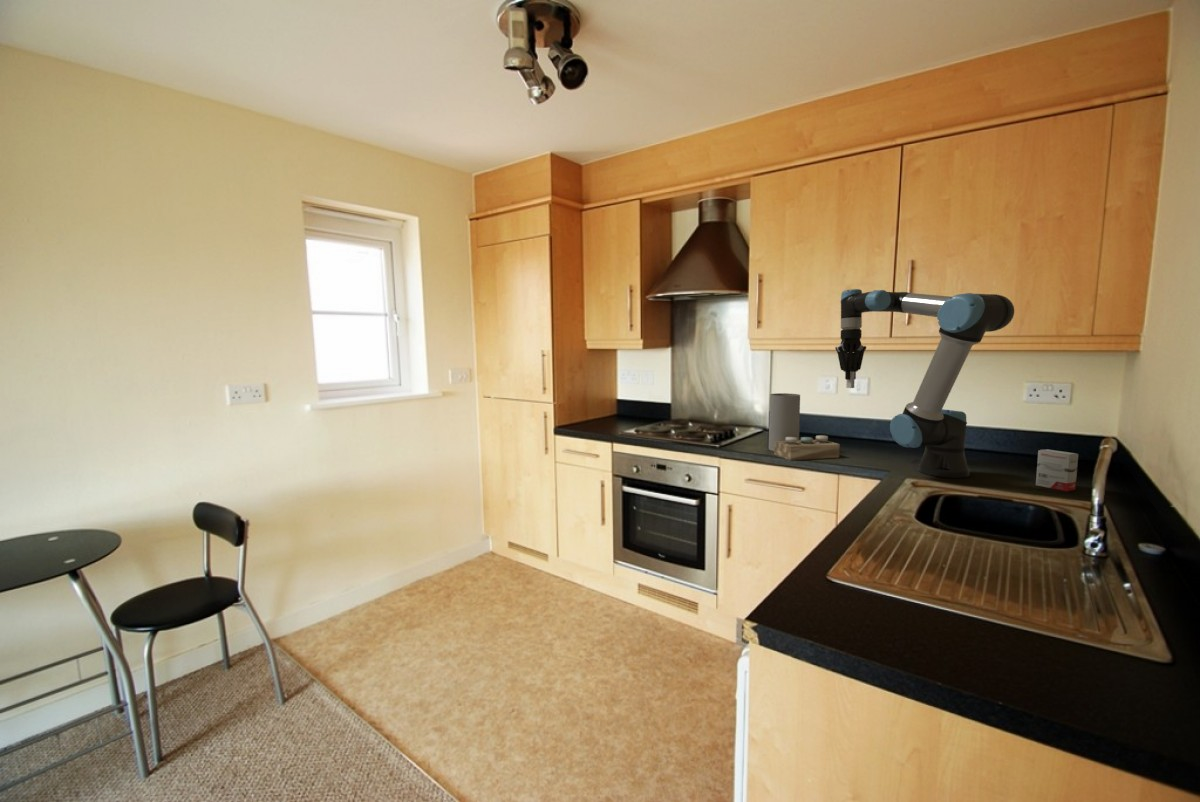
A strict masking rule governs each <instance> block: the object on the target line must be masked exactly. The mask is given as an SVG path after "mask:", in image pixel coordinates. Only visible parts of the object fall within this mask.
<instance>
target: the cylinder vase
mask: <svg viewBox="0 0 1200 802" xmlns="http://www.w3.org/2000/svg"><path fill="white" fill-rule="evenodd" d="M800 409H801V394H800V393H799V394H798V393H787V392H786V393H783V392H782V393H776V392H775V393H770V394H769V414H768V415H769V418H768V419H769V421H768V429H769V430H768V450H769V451H772V452H775V441H785V439H786V437H796V438H797V440H800V420H801V419H800V413H801V410H800Z"/></svg>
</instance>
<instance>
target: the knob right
mask: <svg viewBox="0 0 1200 802" xmlns="http://www.w3.org/2000/svg"><path fill="white" fill-rule="evenodd" d="M815 439H816V440H817V443H826V441H829V436H828V435H822V434H821V435H820V434H819V435H816V436H815Z"/></svg>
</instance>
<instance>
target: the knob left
mask: <svg viewBox="0 0 1200 802" xmlns="http://www.w3.org/2000/svg"><path fill="white" fill-rule="evenodd" d="M785 441H786V442H787V444H788V445H796V442H797V438H796V437H786V439H785Z"/></svg>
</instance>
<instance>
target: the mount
mask: <svg viewBox="0 0 1200 802" xmlns="http://www.w3.org/2000/svg"><path fill="white" fill-rule="evenodd" d="M840 446H841V445H840V443H837V442H833V441H829V440H827V441H826V443H817V440H816V438H815V439H813V442H811V444H803V443H802V442H801V439H799V440H797V442H796V445H788V444H787V442H786V441H775V451H774V453H773V454H774V455H776V456H777V457H780V458H783V459H786V460H788V461H803V460H818V459H835V458H840V448H841V447H840Z"/></svg>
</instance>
